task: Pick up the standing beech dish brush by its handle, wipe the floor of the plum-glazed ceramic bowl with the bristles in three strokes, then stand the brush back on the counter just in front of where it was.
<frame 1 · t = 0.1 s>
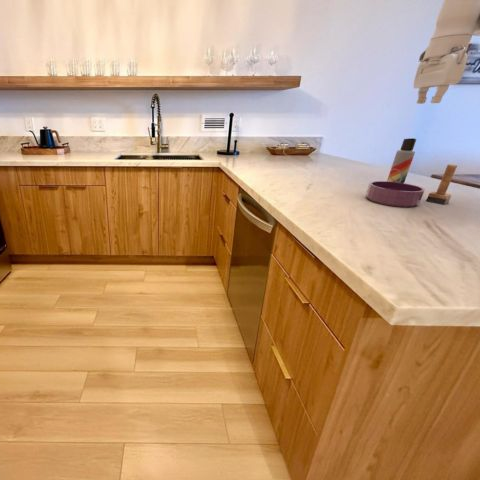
hand: (427, 103, 88), 32 cm above the counter, tool pointing down, fingers open, 8 cm apart
lotion bottle: (392, 189, 119), on the counter
plum bowl: (390, 201, 103), on the counter
dish brush: (437, 202, 102), on the counter
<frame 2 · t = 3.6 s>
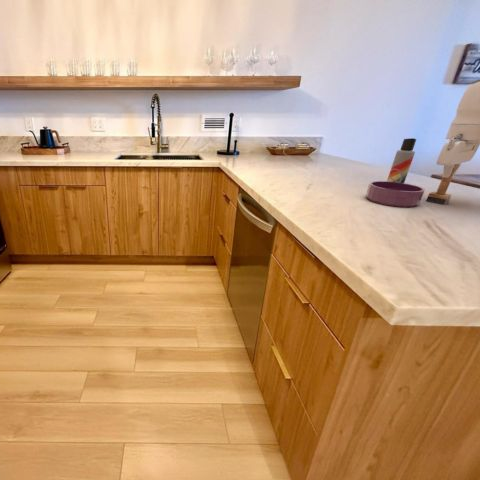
hand: (447, 176, 98), 9 cm above the counter, tool pointing down, fingers closed on dish brush, 2 cm apart
dish brush: (437, 202, 102), on the counter, touching gripper
everything else where it was.
when the fingers open (9 cm above the counter, at t = 17.5 s): dish brush stays where it is, on the counter.
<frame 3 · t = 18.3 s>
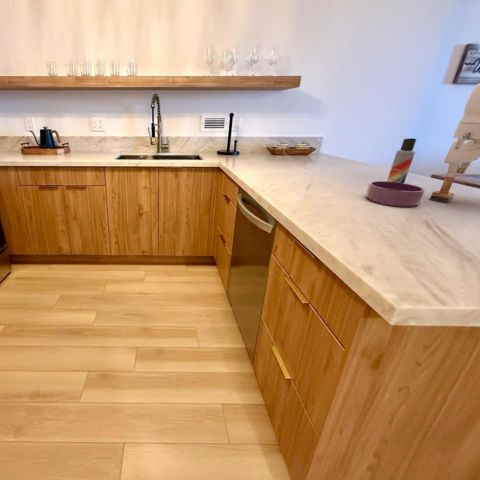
hand: (455, 175, 99), 9 cm above the counter, tool pointing down, fingers open, 8 cm apart
dish brush: (440, 200, 104), on the counter
everything else where it was.
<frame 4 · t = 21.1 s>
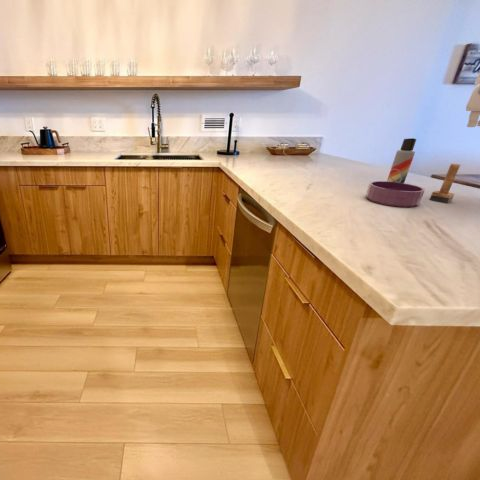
hand: (476, 126, 92), 25 cm above the counter, tool pointing down, fingers open, 8 cm apart
nothing on the counter moved.
at the end: dish brush inside the target area (1.0 cm from its centre), on the counter; dish brush tilted 0°; plum bowl moved 0.0 cm from its start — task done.
